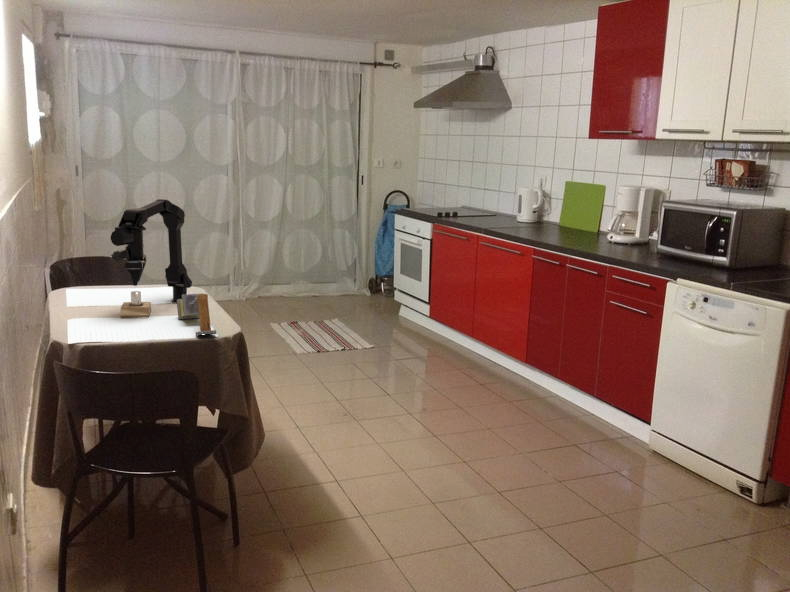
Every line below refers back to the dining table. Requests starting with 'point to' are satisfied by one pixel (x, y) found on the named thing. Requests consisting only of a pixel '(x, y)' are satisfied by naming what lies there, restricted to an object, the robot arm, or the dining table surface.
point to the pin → (135, 298)
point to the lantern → (195, 311)
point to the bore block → (135, 310)
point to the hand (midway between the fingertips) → (136, 283)
